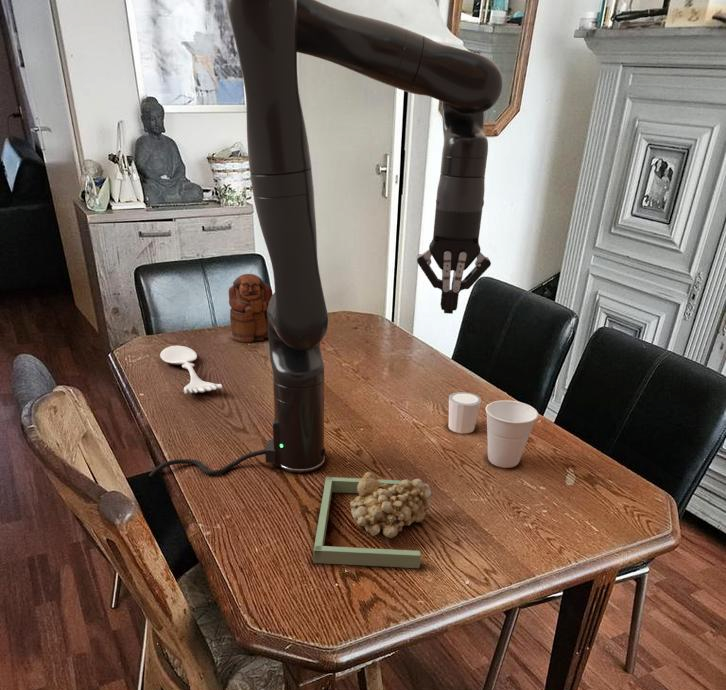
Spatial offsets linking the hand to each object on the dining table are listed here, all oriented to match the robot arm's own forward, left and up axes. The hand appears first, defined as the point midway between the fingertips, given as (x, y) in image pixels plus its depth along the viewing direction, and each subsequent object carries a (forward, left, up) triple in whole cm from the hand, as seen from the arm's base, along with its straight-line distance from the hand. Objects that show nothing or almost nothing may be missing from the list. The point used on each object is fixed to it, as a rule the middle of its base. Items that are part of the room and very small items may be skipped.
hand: (447, 312), depth 111 cm
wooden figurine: (-48, +64, -29) cm, 85 cm away
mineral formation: (-10, -25, -29) cm, 40 cm away
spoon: (-59, +34, -29) cm, 74 cm away
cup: (+14, -1, -29) cm, 32 cm away
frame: (-11, -25, -29) cm, 40 cm away
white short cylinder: (+7, +13, -29) cm, 33 cm away
